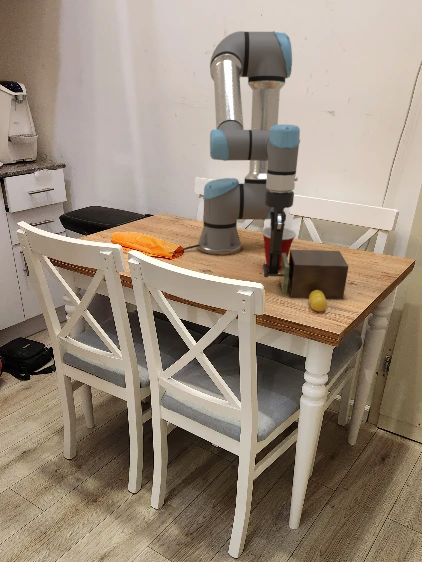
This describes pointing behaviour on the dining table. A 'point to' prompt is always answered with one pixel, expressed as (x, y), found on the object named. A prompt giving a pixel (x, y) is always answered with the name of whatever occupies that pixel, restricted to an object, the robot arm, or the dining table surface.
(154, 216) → the dining table surface
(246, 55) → the robot arm
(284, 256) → the drawer
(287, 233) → the plastic cup
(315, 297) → the yellow oval piece
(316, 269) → the cabinet
